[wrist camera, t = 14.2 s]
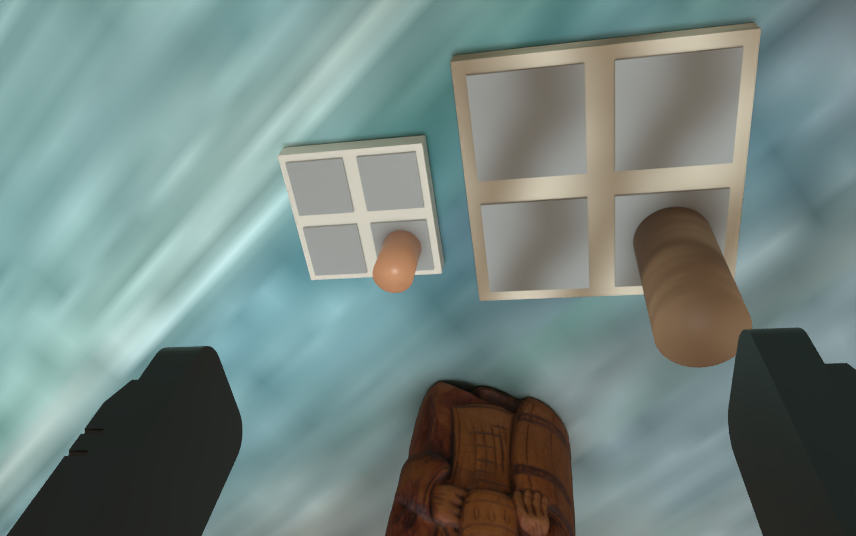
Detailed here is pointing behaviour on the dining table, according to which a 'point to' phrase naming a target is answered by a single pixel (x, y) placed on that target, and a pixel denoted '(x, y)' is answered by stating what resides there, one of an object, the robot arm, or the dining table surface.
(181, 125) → the dining table surface
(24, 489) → the dining table surface
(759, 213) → the dining table surface
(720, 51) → the board
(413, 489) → the wooden figurine
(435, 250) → the key plate
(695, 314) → the walnut pin
